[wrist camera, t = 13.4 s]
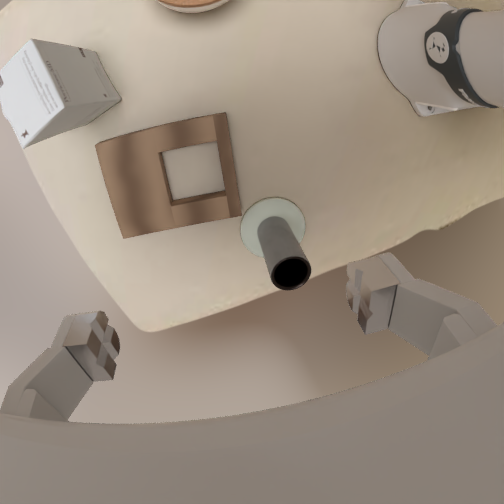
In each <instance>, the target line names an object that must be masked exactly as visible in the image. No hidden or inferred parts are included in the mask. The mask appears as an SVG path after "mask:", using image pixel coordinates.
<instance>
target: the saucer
mask: <svg viewBox="0 0 504 504" xmlns="http://www.w3.org/2000/svg"><path fill="white" fill-rule="evenodd" d="M272 216H277V217H281V218H283V219H285V220H286V221H287V223H288V224H289V226H290V228H291V230H292V231H293V233H294V235H295V237H296V239H297V241H298V243H300V242H301V240H302V238H303V236H304V233H305V220H304V217H303V214H302V213H301V211H300V210H299V208H298V207H297V206H296V205H295V204H294V203H292V202H291V201H289V200H287V199H284V198H279V197H271V198H266V199H263V200H260V201H258V202H256V203H255V204H253V205H252V206H251V207H250V208H249V209H248V210H247V211H246V213H245V214H244V216H243V218H242V221H241V225H240V233H241V238H242V241H243V243H244V245H245V247H246V248H247V249H248V250H249V251H250V252H251V253H253V254H255V255H256V256H259V257H263V258H264V255H263V252H262V249H261V246H260V242H259V239H258V235H257V230H258V226H259V225H260V223H261V222H262V221H263V220H265V219H266V218H268V217H272Z"/></svg>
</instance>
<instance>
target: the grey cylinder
mask: <svg viewBox="0 0 504 504" xmlns="http://www.w3.org/2000/svg"><path fill="white" fill-rule="evenodd" d="M257 235H258V239H259V242H260V246H261V249H262V252H263V255H264V258H265V262H266V265H267V268H268V271H269V274H270V278H271V281H272V283H273V284H274V285H275V286H276V287H277V288H279V289H282V290H293V289H297V288H299V287H301V286H302V285H304V284H305V283H306V282H307V280H308V279H309V277H310V275H311V266H310V263H309V261H308V259H307V258H306V256H305V254H304V252H303V250H302V248H301V246H300V244H299V243H298V241H297V239H296V237H295V235H294V233H293V231H292V230H291V228H290V226H289V224H288V223H287V221H286V220H285V219H283V218H281V217H277V216H272V217H268V218H266V219H265V220H263V221H262V222H261V223H260V225H259V226H258V230H257Z"/></svg>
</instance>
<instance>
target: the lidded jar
mask: <svg viewBox="0 0 504 504" xmlns="http://www.w3.org/2000/svg"><path fill="white" fill-rule="evenodd" d="M156 1H157V2H159V3H160V4H162V5H163V6H165V7H167V8H169V9H172V10H175V11H179V12H185V13H198V12H204V11H209V10H211V9H214V8H217V7H219V6H221V5H223V4H224V3H226V2H227V1H229V0H156Z"/></svg>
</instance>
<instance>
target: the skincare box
mask: <svg viewBox="0 0 504 504" xmlns="http://www.w3.org/2000/svg"><path fill="white" fill-rule="evenodd" d="M120 100H121V97H120V96H119V94H118V93H117V92H116V90H115V88H114V87H113V85H112V83H111V82H110V80H109V78H108V76H107V74H106V72H105V71H104V69H103V66H102V64H101V62H100V60H99V58H98V56H97V54H96V52H95V51H91V50H87V49H83V48H79V47H74V46H69V45H64V44H59V43H53V42H47V41H42V40H36V39H30V40H29V41H28V42H27V43H26V44H25V45H24V46H23V47H22V48H21V49H20V50H19V51H18V52H17V53H16V54H15V55H14V56H13V57H12V58H11V59H10V60H9V61H8V63H7V64H6V65H5V66H4V67H3V68H2V69H1V71H0V102H1V107H2V111H3V114H4V116H5V118H6V119H7V120H8V121H9V122H10V124H11V126H12V128H13V130H14V132H15V134H16V136H17V138H18V140H19V142H20V145H21V147H22V148H23V149H25V148H26V147H28V146H30V145H32V144H35V143H37V142H40V141H42V140H45V139H47V138H50V137H53V136H55V135H58V134H60V133H63V132H66V131H69V130H72V129H75V128H78V127H81V126H84V125H87V124H88V123H90V122H91V121H92V120H94V119H95V118H97V117H98V116H99V115H101V114H102V113H103V112H105V111H106V110H108V109H109V108H110V107H112V106H113V105H115V104H116V103H118V102H119V101H120Z"/></svg>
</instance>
